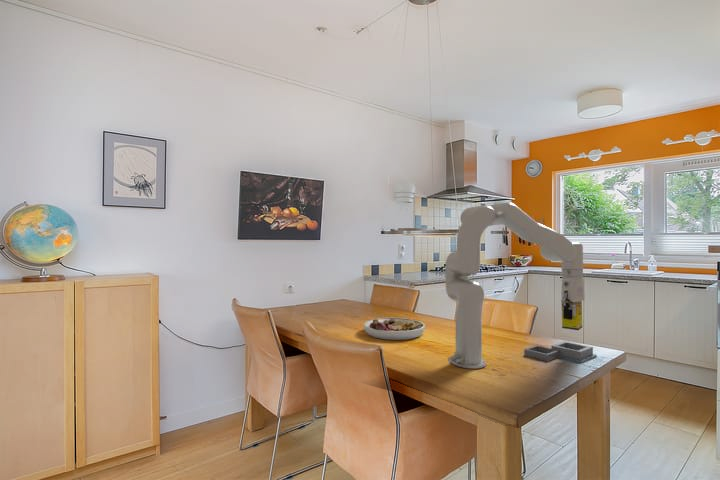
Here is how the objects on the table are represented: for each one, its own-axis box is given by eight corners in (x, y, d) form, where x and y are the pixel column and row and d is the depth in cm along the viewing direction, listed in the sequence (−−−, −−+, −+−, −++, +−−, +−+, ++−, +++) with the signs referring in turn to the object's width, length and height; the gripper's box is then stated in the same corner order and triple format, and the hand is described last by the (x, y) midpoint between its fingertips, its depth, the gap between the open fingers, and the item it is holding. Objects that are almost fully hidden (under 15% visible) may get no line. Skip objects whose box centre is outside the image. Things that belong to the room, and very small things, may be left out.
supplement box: (582, 327, 154) (582, 300, 153) (578, 330, 149) (577, 303, 149) (566, 325, 158) (566, 299, 158) (561, 328, 154) (561, 301, 153)
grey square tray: (547, 361, 146) (547, 355, 146) (524, 355, 154) (524, 349, 154) (560, 356, 152) (560, 350, 152) (536, 351, 160) (536, 345, 160)
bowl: (384, 324, 211) (384, 310, 211) (434, 332, 193) (434, 316, 193) (351, 335, 187) (351, 319, 187) (406, 346, 169) (406, 328, 169)
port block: (581, 363, 144) (581, 353, 144) (547, 354, 155) (547, 345, 155) (596, 356, 152) (596, 347, 152) (563, 349, 163) (563, 340, 163)
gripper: (571, 275, 145) (571, 322, 145) (591, 272, 155) (591, 316, 156) (551, 273, 151) (552, 319, 151) (572, 271, 161) (572, 313, 162)
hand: (572, 317), depth 153 cm, fingers closed on supplement box, 6 cm apart
